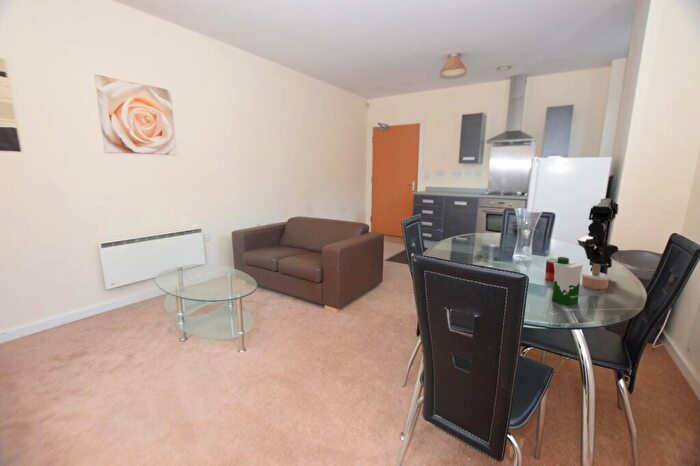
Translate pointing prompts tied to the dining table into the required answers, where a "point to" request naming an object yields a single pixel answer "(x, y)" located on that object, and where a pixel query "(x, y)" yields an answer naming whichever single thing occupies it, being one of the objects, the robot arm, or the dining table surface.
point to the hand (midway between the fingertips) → (595, 261)
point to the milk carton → (566, 281)
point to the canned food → (550, 269)
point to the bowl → (594, 283)
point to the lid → (595, 273)
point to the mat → (589, 291)
